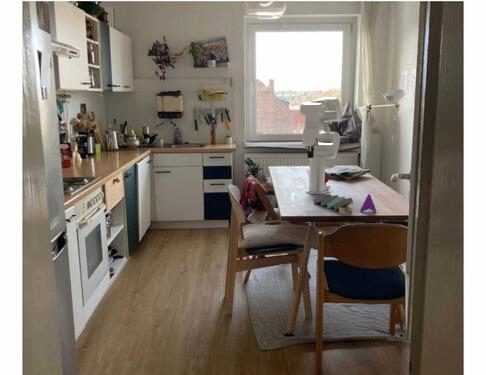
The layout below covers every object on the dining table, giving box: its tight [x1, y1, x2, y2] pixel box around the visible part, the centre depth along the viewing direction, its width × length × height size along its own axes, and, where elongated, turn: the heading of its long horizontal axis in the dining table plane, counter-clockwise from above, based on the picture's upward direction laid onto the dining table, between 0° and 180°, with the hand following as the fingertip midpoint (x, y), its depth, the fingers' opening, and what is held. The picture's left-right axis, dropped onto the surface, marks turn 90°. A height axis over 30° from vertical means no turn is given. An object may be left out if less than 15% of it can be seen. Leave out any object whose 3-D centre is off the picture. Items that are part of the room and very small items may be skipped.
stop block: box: [338, 205, 353, 215], centre depth 232 cm, size 6×3×3 cm, turn 118°
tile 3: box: [333, 197, 354, 211], centre depth 233 cm, size 3×5×10 cm
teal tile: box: [326, 196, 346, 209], centre depth 238 cm, size 3×5×10 cm
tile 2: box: [320, 194, 339, 207], centre depth 242 cm, size 3×5×10 cm
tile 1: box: [312, 193, 332, 205], centre depth 248 cm, size 3×5×10 cm
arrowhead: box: [359, 193, 378, 213], centre depth 233 cm, size 10×2×10 cm
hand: (310, 157), depth 254 cm, fingers closed
